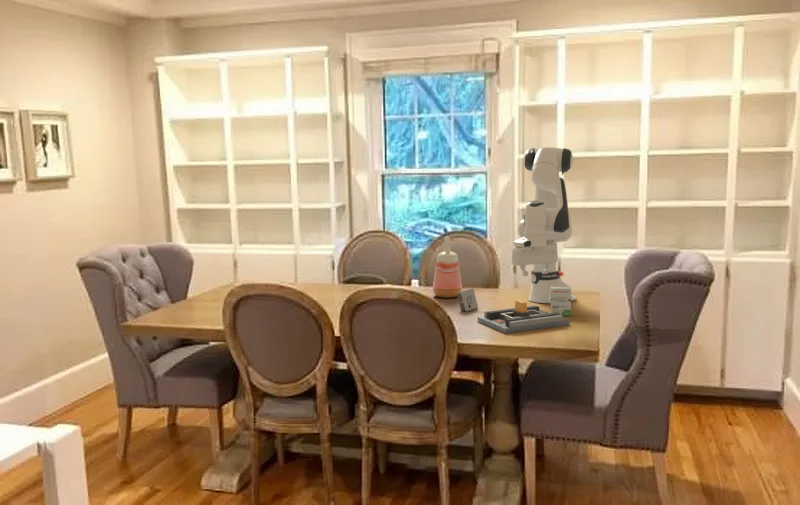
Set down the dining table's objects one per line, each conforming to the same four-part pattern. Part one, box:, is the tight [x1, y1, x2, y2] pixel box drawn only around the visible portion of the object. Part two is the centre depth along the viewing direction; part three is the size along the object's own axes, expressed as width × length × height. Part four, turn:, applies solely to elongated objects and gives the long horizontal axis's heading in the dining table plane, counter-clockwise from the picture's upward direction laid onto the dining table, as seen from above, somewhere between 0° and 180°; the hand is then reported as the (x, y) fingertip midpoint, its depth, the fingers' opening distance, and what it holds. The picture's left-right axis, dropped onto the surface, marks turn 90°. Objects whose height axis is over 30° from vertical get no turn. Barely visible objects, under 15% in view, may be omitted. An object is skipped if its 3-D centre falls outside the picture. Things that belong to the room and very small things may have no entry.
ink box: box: [550, 286, 572, 316], centre depth 286 cm, size 9×5×12 cm, turn 76°
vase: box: [432, 236, 463, 299], centre depth 327 cm, size 14×14×30 cm
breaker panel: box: [477, 309, 571, 334], centre depth 273 cm, size 30×22×4 cm
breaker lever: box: [513, 299, 529, 317], centre depth 272 cm, size 4×6×7 cm, turn 23°
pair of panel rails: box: [483, 305, 564, 328], centre depth 272 cm, size 24×21×2 cm
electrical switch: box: [457, 287, 479, 312], centre depth 300 cm, size 9×5×9 cm, turn 141°
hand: (535, 274), depth 272 cm, fingers open, 8 cm apart
